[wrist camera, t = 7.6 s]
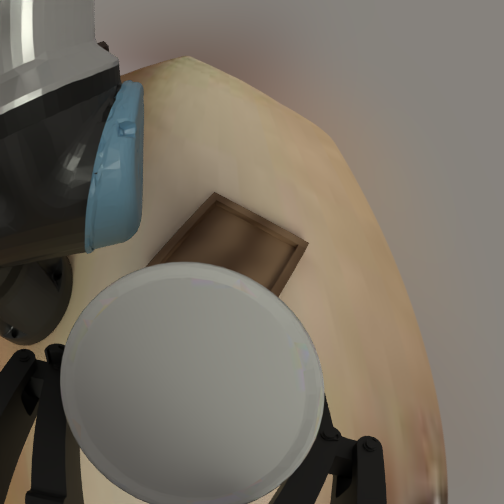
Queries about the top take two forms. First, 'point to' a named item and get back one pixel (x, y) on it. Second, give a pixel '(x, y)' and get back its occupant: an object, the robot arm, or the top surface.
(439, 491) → the top surface
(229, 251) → the coaster tray
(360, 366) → the top surface
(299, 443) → the coffee cup
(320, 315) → the top surface
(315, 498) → the robot arm
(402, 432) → the top surface
